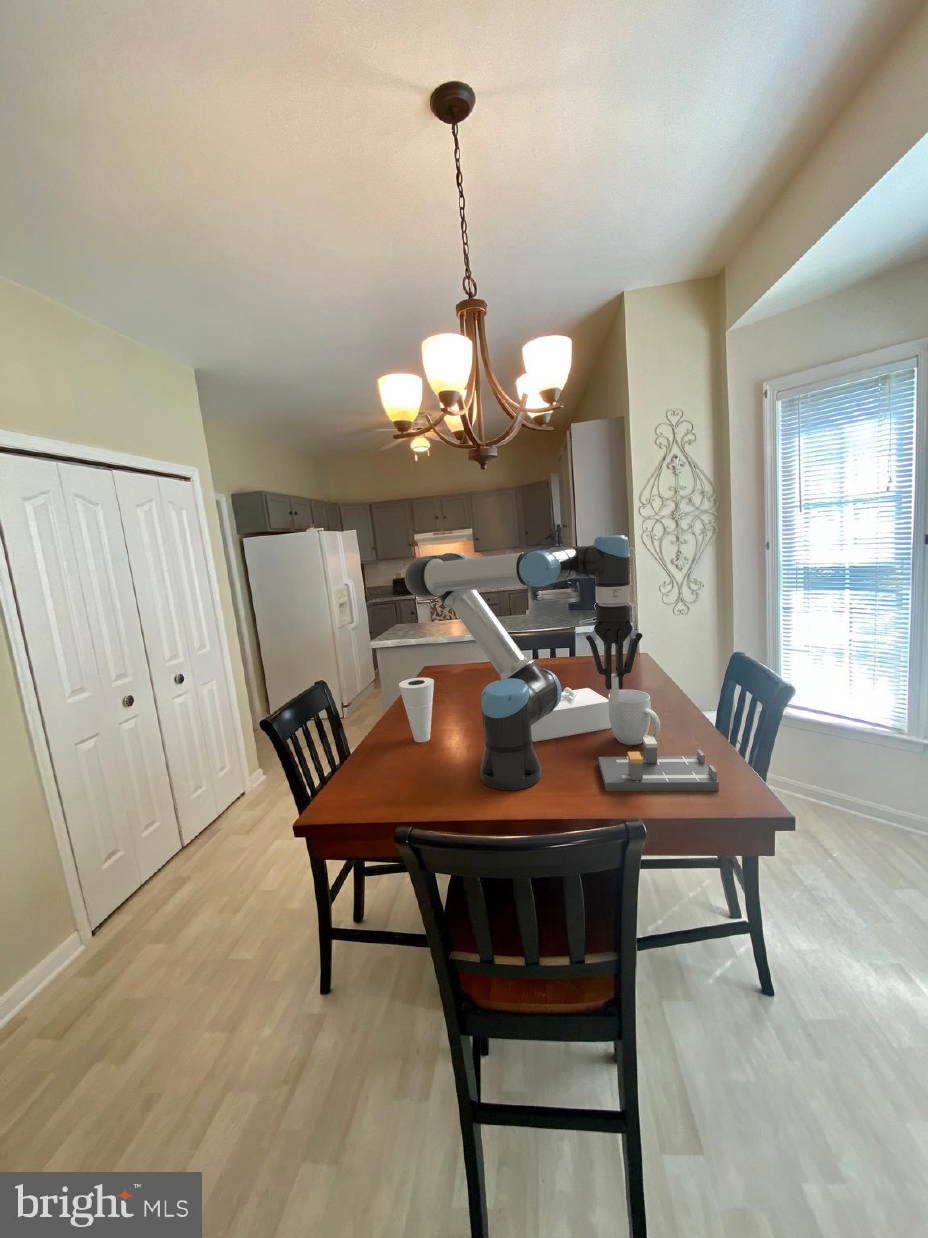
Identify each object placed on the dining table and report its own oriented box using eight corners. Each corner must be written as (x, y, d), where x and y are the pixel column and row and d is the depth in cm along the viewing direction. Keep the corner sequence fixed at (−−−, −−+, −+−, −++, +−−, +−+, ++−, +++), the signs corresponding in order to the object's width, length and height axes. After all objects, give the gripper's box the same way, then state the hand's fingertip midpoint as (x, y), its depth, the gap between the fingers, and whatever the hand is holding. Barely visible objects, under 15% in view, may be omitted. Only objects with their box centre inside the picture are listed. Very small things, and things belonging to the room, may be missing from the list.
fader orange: (631, 780, 108) (630, 759, 108) (628, 772, 112) (627, 751, 111) (643, 780, 108) (642, 759, 107) (639, 771, 112) (639, 751, 111)
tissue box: (611, 728, 144) (610, 693, 142) (533, 742, 139) (530, 706, 137) (589, 713, 158) (587, 681, 156) (517, 725, 153) (514, 692, 151)
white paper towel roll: (399, 745, 144) (392, 688, 141) (413, 731, 154) (407, 677, 151) (432, 747, 141) (426, 688, 138) (444, 732, 151) (438, 677, 148)
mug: (672, 744, 129) (671, 698, 127) (647, 757, 123) (645, 708, 121) (626, 729, 142) (625, 686, 140) (601, 740, 136) (599, 695, 134)
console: (605, 790, 109) (605, 774, 108) (598, 764, 122) (598, 749, 121) (718, 790, 105) (718, 773, 105) (699, 763, 118) (699, 748, 117)
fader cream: (646, 763, 115) (646, 743, 115) (643, 756, 119) (642, 737, 118) (657, 763, 115) (657, 743, 114) (654, 756, 119) (653, 737, 118)
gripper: (586, 607, 107) (588, 708, 111) (646, 604, 106) (647, 706, 110) (581, 602, 114) (583, 697, 118) (637, 599, 113) (638, 695, 117)
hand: (614, 701), depth 114 cm, fingers closed
